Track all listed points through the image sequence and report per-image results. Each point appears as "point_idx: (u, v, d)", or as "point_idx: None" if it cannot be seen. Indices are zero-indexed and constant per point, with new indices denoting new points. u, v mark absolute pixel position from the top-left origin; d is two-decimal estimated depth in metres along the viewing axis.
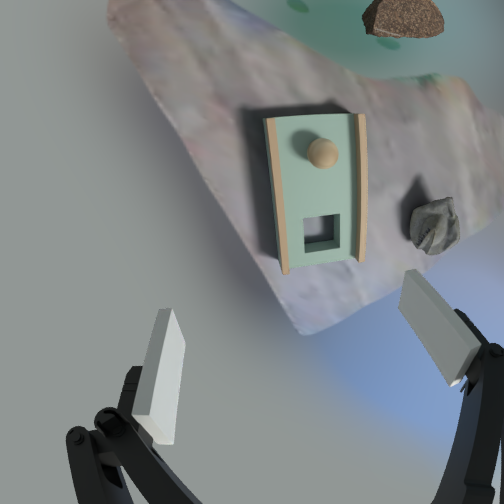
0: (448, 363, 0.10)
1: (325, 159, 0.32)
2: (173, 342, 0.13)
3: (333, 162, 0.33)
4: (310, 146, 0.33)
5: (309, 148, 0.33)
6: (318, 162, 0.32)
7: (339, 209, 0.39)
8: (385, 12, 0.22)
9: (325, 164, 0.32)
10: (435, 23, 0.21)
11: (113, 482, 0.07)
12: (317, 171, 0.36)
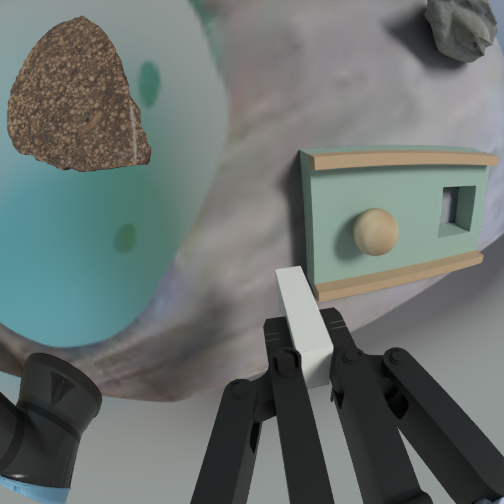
0: None
1: (390, 244, 0.21)
2: None
3: (394, 228, 0.20)
4: (365, 252, 0.23)
5: None
6: (391, 249, 0.21)
7: (438, 188, 0.23)
8: (91, 152, 0.15)
9: (395, 241, 0.21)
10: (70, 40, 0.10)
11: None
12: None
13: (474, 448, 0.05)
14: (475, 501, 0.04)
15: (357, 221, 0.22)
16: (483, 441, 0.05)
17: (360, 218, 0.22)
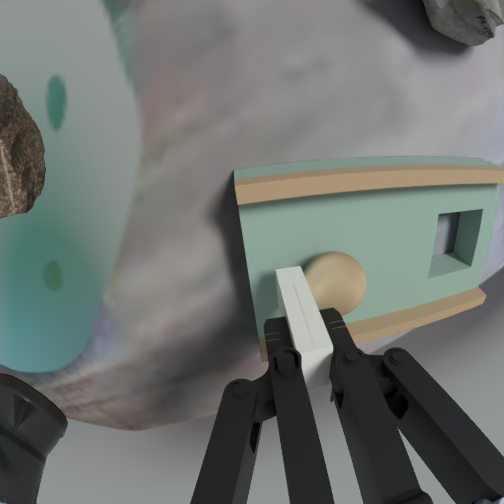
0: None
1: (351, 305, 0.15)
2: None
3: (358, 283, 0.15)
4: None
5: None
6: (353, 309, 0.16)
7: (432, 215, 0.17)
8: None
9: (360, 299, 0.15)
10: None
11: None
12: None
13: (474, 448, 0.05)
14: (475, 501, 0.04)
15: (306, 271, 0.16)
16: (483, 441, 0.05)
17: (310, 267, 0.16)
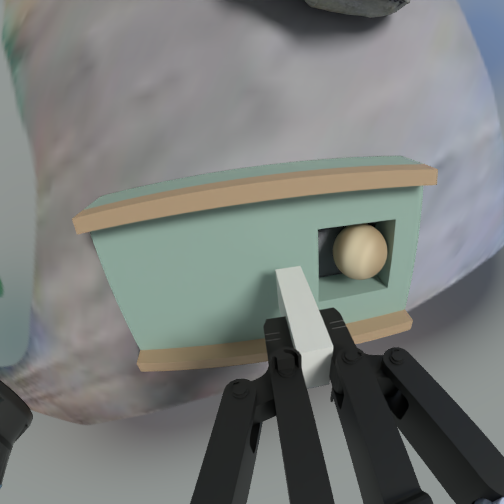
0: None
1: (385, 261, 0.18)
2: None
3: (385, 243, 0.18)
4: (353, 278, 0.19)
5: None
6: None
7: (308, 232, 0.17)
8: None
9: None
10: None
11: None
12: (220, 287, 0.18)
13: (474, 448, 0.05)
14: (475, 501, 0.04)
15: (344, 245, 0.18)
16: (483, 441, 0.05)
17: (347, 240, 0.18)
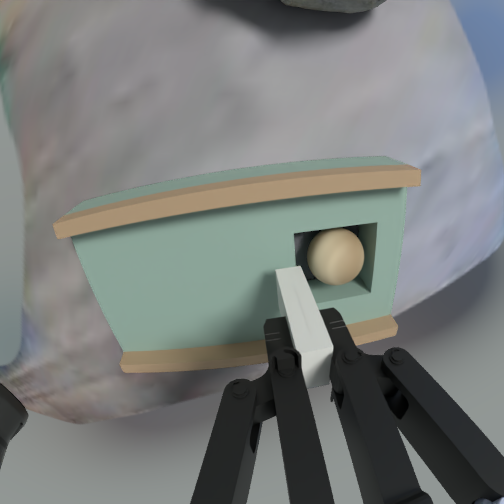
0: None
1: (358, 269, 0.18)
2: None
3: (361, 250, 0.18)
4: (325, 283, 0.19)
5: (328, 283, 0.19)
6: None
7: (283, 236, 0.17)
8: None
9: (362, 264, 0.18)
10: None
11: None
12: (196, 291, 0.18)
13: (474, 448, 0.05)
14: (475, 501, 0.04)
15: (314, 247, 0.18)
16: (483, 441, 0.05)
17: (317, 243, 0.18)
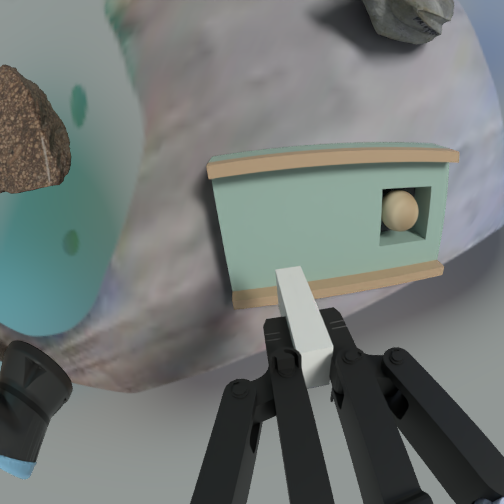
0: None
1: (413, 220, 0.23)
2: None
3: (416, 207, 0.23)
4: (390, 228, 0.25)
5: (392, 229, 0.25)
6: (412, 225, 0.24)
7: (376, 190, 0.22)
8: (17, 178, 0.15)
9: (416, 218, 0.23)
10: None
11: None
12: (312, 230, 0.24)
13: (474, 448, 0.05)
14: (475, 501, 0.04)
15: (384, 200, 0.24)
16: (483, 441, 0.05)
17: (387, 198, 0.24)
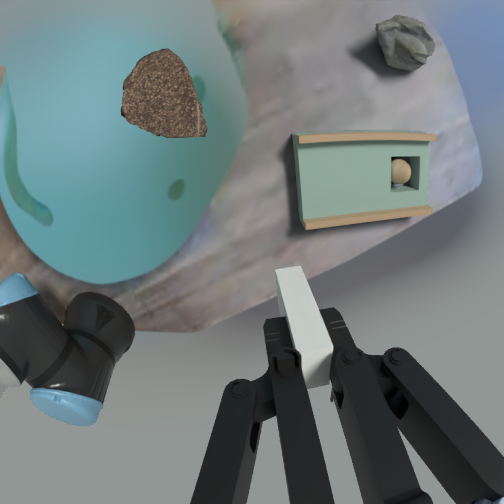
0: None
1: (406, 176, 0.37)
2: None
3: (408, 168, 0.37)
4: None
5: (394, 182, 0.39)
6: (407, 180, 0.37)
7: (387, 157, 0.36)
8: (174, 127, 0.29)
9: (409, 175, 0.37)
10: (162, 62, 0.24)
11: None
12: (352, 179, 0.38)
13: (474, 448, 0.05)
14: (475, 501, 0.04)
15: None
16: (483, 441, 0.05)
17: None
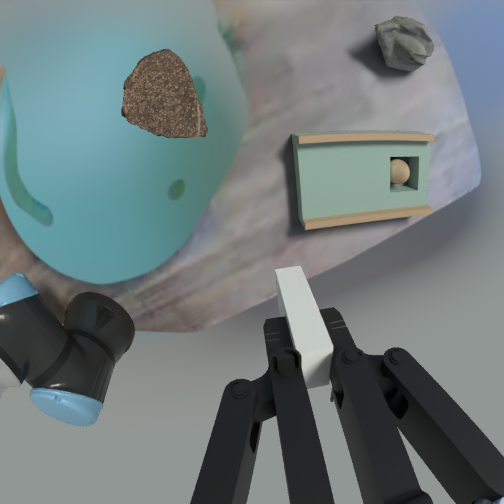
0: None
1: (404, 176, 0.37)
2: None
3: (406, 168, 0.37)
4: None
5: (393, 182, 0.39)
6: (405, 180, 0.38)
7: (386, 157, 0.37)
8: (174, 127, 0.29)
9: (407, 175, 0.37)
10: (163, 63, 0.24)
11: None
12: (351, 179, 0.38)
13: (474, 448, 0.05)
14: (475, 501, 0.04)
15: None
16: (483, 441, 0.05)
17: None
